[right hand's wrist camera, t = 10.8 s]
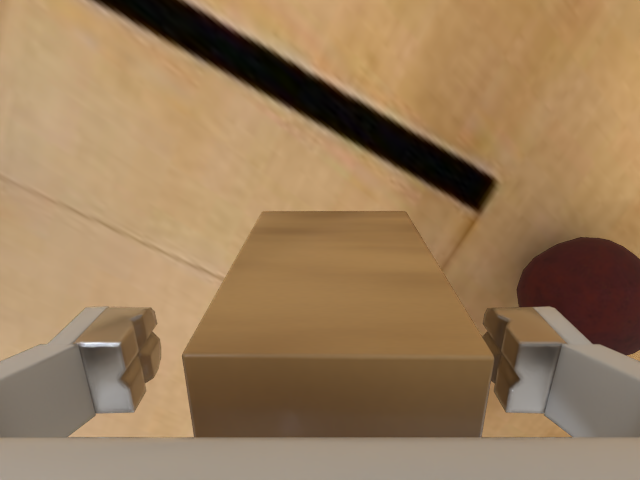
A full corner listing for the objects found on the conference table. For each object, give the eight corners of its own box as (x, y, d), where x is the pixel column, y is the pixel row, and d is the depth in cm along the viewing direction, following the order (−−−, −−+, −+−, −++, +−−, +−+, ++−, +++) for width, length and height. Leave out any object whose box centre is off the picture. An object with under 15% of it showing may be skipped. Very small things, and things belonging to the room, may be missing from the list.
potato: (602, 318, 30) (677, 383, 23) (494, 318, 30) (539, 383, 24) (625, 222, 27) (718, 265, 21) (508, 224, 28) (562, 268, 21)
